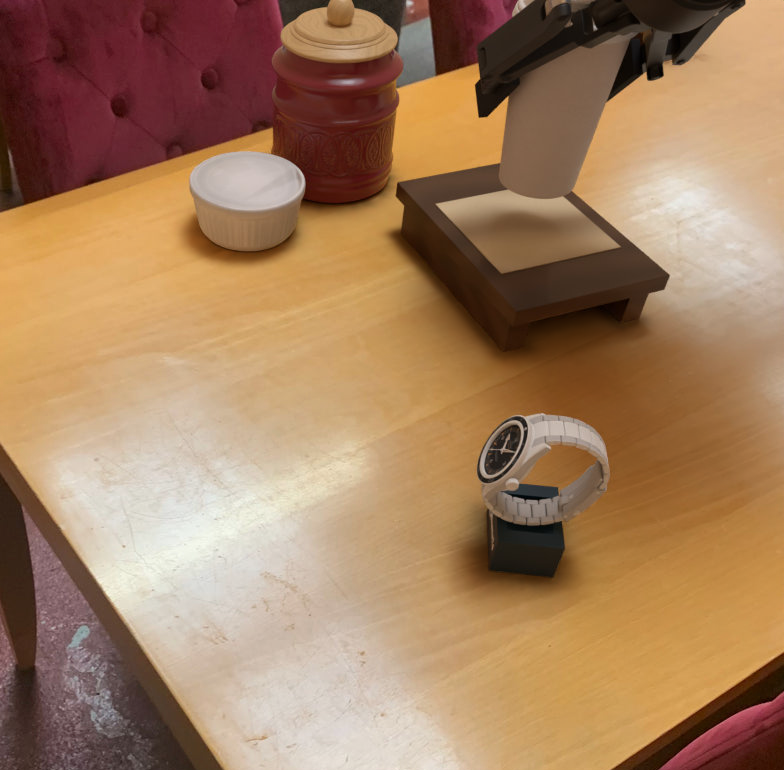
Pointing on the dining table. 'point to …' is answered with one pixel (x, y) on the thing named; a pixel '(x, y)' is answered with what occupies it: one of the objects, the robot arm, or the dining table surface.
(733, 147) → the dining table surface
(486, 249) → the wooden riser stand
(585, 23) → the robot arm
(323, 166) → the kitchen canister
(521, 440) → the watch
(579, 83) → the coffee cup
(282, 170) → the ramekin
